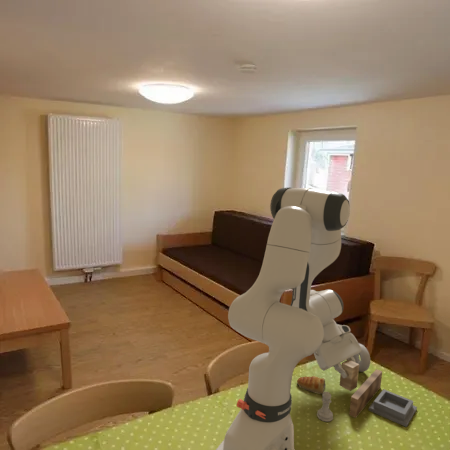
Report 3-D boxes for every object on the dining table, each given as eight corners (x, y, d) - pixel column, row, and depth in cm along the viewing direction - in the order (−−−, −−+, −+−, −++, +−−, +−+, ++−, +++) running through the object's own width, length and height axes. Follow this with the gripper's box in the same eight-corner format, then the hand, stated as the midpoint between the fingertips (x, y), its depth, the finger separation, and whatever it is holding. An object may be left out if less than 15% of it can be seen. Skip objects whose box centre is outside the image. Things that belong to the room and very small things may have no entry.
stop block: (350, 391, 121) (352, 368, 120) (339, 385, 125) (341, 362, 123) (356, 387, 124) (359, 364, 123) (346, 381, 127) (348, 359, 126)
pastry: (295, 389, 126) (296, 379, 125) (298, 379, 132) (299, 369, 131) (324, 396, 123) (325, 385, 122) (325, 385, 129) (326, 375, 129)
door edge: (355, 418, 112) (357, 399, 111) (349, 414, 113) (351, 396, 112) (380, 387, 129) (382, 371, 128) (374, 385, 130) (376, 369, 129)
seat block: (406, 427, 109) (407, 417, 109) (368, 410, 116) (369, 401, 116) (416, 409, 117) (417, 400, 117) (380, 395, 124) (381, 386, 124)
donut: (370, 376, 135) (373, 350, 134) (362, 377, 134) (365, 351, 133) (354, 362, 145) (356, 338, 143) (346, 363, 144) (348, 339, 142)
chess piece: (335, 421, 110) (338, 396, 109) (320, 422, 109) (322, 397, 108) (329, 411, 115) (331, 387, 113) (314, 412, 114) (316, 387, 113)
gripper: (315, 339, 121) (339, 381, 115) (351, 325, 134) (374, 362, 128) (303, 346, 125) (325, 388, 119) (339, 332, 138) (360, 368, 132)
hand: (351, 374), depth 123 cm, fingers closed on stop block, 4 cm apart
